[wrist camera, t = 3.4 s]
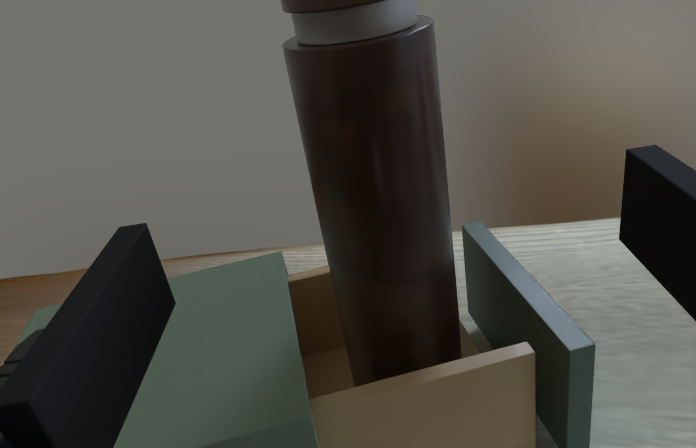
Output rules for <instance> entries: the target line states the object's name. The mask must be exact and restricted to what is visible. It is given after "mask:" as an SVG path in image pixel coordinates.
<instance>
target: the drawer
mask: <svg viewBox="0 0 696 448" xmlns="http://www.w3.org/2000/svg"><path fill="white" fill-rule="evenodd" d="M462 235H463V248H464V261H465V274H466V287H467V301H468V312H469V314H470V315H471V317H472V318H473V320H474V321H475V323H476V324H477V326H478V327H479V329H480V330H481V332H482V333H483V335H484V336H485V338H486V339H487V341H488V342H489V344H490V345H491V347H492V348H493V350H492V351H489V352H485V353H480V352H479V350H478V349H477V347H476V345H475V344H474V342H473V341H472V339H471V338H470V336H469V334H468V333H467V331H466V330H465V328H464V326H463V325H462V323H461V322H460V320H459V323H460V335H461V346H462V359H459V360H455V361H451V362H447V363H444V364H440V365H436V366H432V367H429V368H425V369H421V370H417V371H414V372H410V373H406V374H402V375H399V376H395V377H391V378H387V379H384V380H380V381H376V382H372V383H369V384H365V385H361V386H357V387H354V383H353V378H352V374H351V369H350V364H349V359H348V355H347V350H346V345H345V340H344V336H343V331H342V326H341V321H340V317H339V312H338V307H337V303H336V298H335V293H334V288H333V284H332V279H331V274H330V269H329V265H328V266H324V267H320V268H316V269H312V270H308V271H304V272H300V273H296V274H291V275H287V279H288V284H289V290H290V295H291V301H292V306H293V312H294V317H295V323H296V329H297V334H298V340H299V345H300V351H301V356H302V362H303V367H304V373H305V379H306V384H307V390H308V395H309V401H310V406H311V412H312V417H313V421H314V425H315V428H316V432H317V436H318V440H319V443H320V447H321V448H536V414H537V416H538V417H539V419H540V420H541V422H542V423H543V425H544V426H545V428H546V429H547V431H548V432H549V434H550V435H551V437H552V438H553V440H554V441H555V443H556V444H557V446H558V447H559V448H589V445H590V428H591V411H592V394H593V377H594V361H595V343H594V342H593V341H592V340H591V339H590V338H589V337H588V336H587V335H586V334H585V333H584V332H583V331H582V330H581V329H580V327H579V326H578V325H577V324H576V323H575V322H574V321H573V320H572V319H571V318H570V317H569V316H568V315H567V314H566V313H565V311H564V310H563V309H562V308H561V307H560V306H559V305H558V304H557V303H556V302H555V301H554V300H553V299H552V298H551V297H550V295H549V294H548V293H547V292H546V291H545V290H544V289H543V288H542V287H541V286H540V285H539V284H538V283H537V282H536V280H535V279H534V278H533V277H532V276H531V275H530V274H529V273H528V272H527V271H526V270H525V269H524V268H523V267H522V266H521V264H520V263H519V262H518V261H517V260H516V259H515V258H514V257H513V256H512V255H511V254H510V253H509V252H508V251H507V250H506V248H505V247H504V246H503V245H502V244H501V243H500V242H499V241H498V240H497V239H496V238H495V237H494V236H493V235H492V234H491V232H490V231H489V230H488V229H487V228H486V227H485V226H484V225H483V224H482V223H481V222H480V221H478V222H474V223H470V224H466V225H462Z"/></svg>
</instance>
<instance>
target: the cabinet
mask: <svg viewBox="0 0 696 448" xmlns="http://www.w3.org/2000/svg"><path fill="white" fill-rule="evenodd" d="M287 275H288V273H287V269H286V265H285V262H284V258H283V254H282V251H280V252H276V253H272V254H268V255H263V256H259V257H255V258H251V259H247V260H243V261H238V262H234V263H230V264H226V265H222V266H217V267H213V268H209V269H205V270H201V271H196V272H192V273H188V274H184V275H180V276H176V277H171V278H167V281H168V283H169V286H170V289H171V291H172V294H173V297H174V299H175V302H176V304H175V307H174V309H173V311H172V314H171V316H170V318H169V320H168V323H167V325H166V327H165V330H164V332H163V334H162V337H161V339H160V341H159V344H158V346H157V348H156V351H155V353H154V355H153V357H152V360H151V362H150V364H149V367H148V369H147V371H146V374H145V376H144V378H143V381H142V383H141V385H140V387H139V390H138V392H137V394H136V397H135V399H134V401H133V404H132V406H131V408H130V411H129V413H128V415H127V418H126V420H125V422H124V424H123V427H122V429H121V431H120V434H119V436H118V438H117V441H116V443H115V445H114V448H321V447H320V443H319V440H318V436H317V432H316V428H315V425H314V421H313V417H312V412H311V406H310V401H309V395H308V390H307V384H306V379H305V373H304V367H303V362H302V356H301V351H300V345H299V340H298V334H297V329H296V323H295V317H294V312H293V306H292V301H291V295H290V290H289V284H288V279H287ZM61 306H62V304H58V305H54V306H50V307H46V308H42V309H38V310H35V311H34V313H33V315H32V317H31V319H30V321H29V322H28V324H27V326H26V328H25V330H24V332H23V333H22V335H21V337H20V339H19V341H18V343H17V344H16V346H17V345H18V344H19V343H21V342H22V341H23V340H24V339H26V338H27V337H28V336H29V335H31V334H32V333H33V332H34V331H36V330H37V329H44V328H45V327H46V326H47V325H48V323H49V322H50V320H51V319H52V318H53V316H54V315H55V314H56V312H57V311H58V310H59V308H60V307H61ZM16 346H15V347H16ZM14 349H15V348H14Z"/></svg>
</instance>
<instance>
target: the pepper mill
mask: <svg viewBox="0 0 696 448" xmlns="http://www.w3.org/2000/svg"><path fill="white" fill-rule="evenodd" d="M281 4H282V9H283V11H284V12H286V13H291V14H292V19H293V24H294V29H295V34H296V36H294V37H292V38H290V39H289V40H287V41H286V42H284V44H283V46H282V47H283V52H284V57H285V61H286V66H287V70H288V75H289V80H290V85H291V90H292V94H293V99H294V104H295V108H296V113H297V118H298V123H299V127H300V132H301V137H302V142H303V146H304V151H305V156H306V161H307V165H308V170H309V175H310V180H311V184H312V189H313V194H314V198H315V203H316V208H317V213H318V217H319V222H320V226H321V232H322V236H323V241H324V246H325V251H326V255H327V260H328V265H329V269H330V274H331V279H332V284H333V288H334V293H335V298H336V303H337V307H338V312H339V317H340V321H341V326H342V331H343V336H344V340H345V345H346V350H347V355H348V359H349V364H350V369H351V374H352V378H353V383H354V387H357V386H361V385H365V384H369V383H372V382H376V381H380V380H384V379H387V378H391V377H395V376H399V375H402V374H406V373H410V372H414V371H417V370H421V369H425V368H429V367H432V366H436V365H440V364H444V363H447V362H451V361H455V360H459V359H462V346H461V335H460V323H459V311H458V300H457V288H456V276H455V265H454V253H453V241H452V230H451V218H450V206H449V196H448V184H447V171H446V160H445V149H444V138H443V125H442V115H441V114H442V113H441V102H440V91H439V78H438V67H437V56H436V44H435V32H434V21H433V19H432V18H431V17H428V16H423V15H417V7H416V0H281Z"/></svg>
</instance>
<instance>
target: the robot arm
mask: <svg viewBox="0 0 696 448" xmlns="http://www.w3.org/2000/svg"><path fill="white" fill-rule="evenodd" d="M619 240H620V241H621V242H622V243H623V244H624V245H625V246H626V247H627V248H628V249H629V250H630V251H631V252H632V253H633V255H634V256H635V257H636V258H637V259H638V260H639V261H640V262H641V263H642V264H643V265H644V266H645V267H646V268H647V270H648V271H649V272H650V273H651V274H652V275H653V276H654V277H655V278H656V279H657V280H658V281H659V282H660V283H661V285H662V286H663V287H664V288H665V289H666V290H667V291H668V292H669V293H670V294H671V295H672V296H673V297H674V298H675V300H676V301H677V302H678V303H679V304H680V305H681V306H682V307H683V308H684V309H685V310H686V311H687V312H688V313H689V315H690V316H691V317H692V318H693V319H694V320H695V321H696V171H695V170H693V169H692V168H690V167H689V166H687V165H686V164H684V163H683V162H681V161H680V160H678V159H676V158H675V157H674V156H672V155H671V154H669V153H668V152H666V151H664V150H663V149H661V148H660V147H658V146H657V145H651V146H645V147H638V148H632V149H627V150H626V159H625V173H624V184H623V197H622V209H621V222H620V234H619ZM175 304H176V302H175V299H174V297H173V294H172V291H171V289H170V286H169V283H168V281H167V278H166V275H165V273H164V270H163V267H162V264H161V262H160V259H159V257H158V254H157V251H156V248H155V246H154V243H153V240H152V238H151V235H150V232H149V230H148V227H147V224H146V223H144V224H137V225H130V226H124V227H119V228H118V230H117V231H116V233H115V234H114V235H113V237H112V238H111V239H110V241H109V242H108V243H107V245H106V246H105V247H104V249H103V250H102V251H101V253H100V254H99V256H98V257H97V258H96V260H95V261H94V262H93V264H92V265H91V266H90V268H89V269H88V270H87V272H86V273H85V274H84V276H83V277H82V279H81V280H80V281H79V283H78V284H77V285H76V287H75V288H74V289H73V291H72V292H71V293H70V295H69V296H68V297H67V299H66V300H65V302H64V303H63V304H62V306H61V307H60V308H59V310H58V311H57V312H56V314H55V315H54V316H53V318H52V319H51V320H50V322H49V323H48V325H47V326H46V327H45V328H44V329H37V330H36V331H34V332H33V333H32V334H31V335H29V336H28V337H27V338H26V339H24V340H23V341H22V342H21V343H19V344H18V345H17V346H16V347H15V349H14V350H13V351H12V353H11V354H10V355H9V356H8V358H7V359H6V360H5V362H4V365H1V367H0V448H114V445H115V443H116V441H117V438H118V436H119V434H120V431H121V429H122V427H123V424H124V422H125V420H126V418H127V415H128V413H129V411H130V408H131V406H132V404H133V401H134V399H135V397H136V394H137V392H138V390H139V387H140V385H141V383H142V381H143V378H144V376H145V374H146V371H147V369H148V367H149V364H150V362H151V360H152V357H153V355H154V353H155V351H156V348H157V346H158V344H159V341H160V339H161V337H162V334H163V332H164V330H165V327H166V325H167V323H168V320H169V318H170V316H171V314H172V311H173V309H174V307H175Z"/></svg>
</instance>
